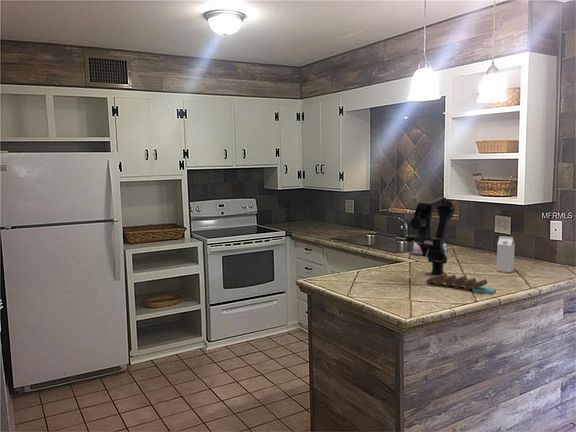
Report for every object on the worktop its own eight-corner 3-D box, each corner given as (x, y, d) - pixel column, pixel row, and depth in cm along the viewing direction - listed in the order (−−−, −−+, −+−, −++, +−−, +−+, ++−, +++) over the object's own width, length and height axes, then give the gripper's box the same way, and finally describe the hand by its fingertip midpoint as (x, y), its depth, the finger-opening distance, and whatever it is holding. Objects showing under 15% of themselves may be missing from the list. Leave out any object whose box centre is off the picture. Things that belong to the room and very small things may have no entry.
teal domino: (472, 288, 227) (492, 291, 222) (476, 286, 231) (495, 289, 225) (472, 292, 228) (492, 295, 222) (476, 290, 231) (495, 293, 226)
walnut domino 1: (426, 280, 242) (442, 274, 237) (430, 278, 246) (446, 272, 240) (427, 283, 242) (443, 278, 236) (431, 281, 246) (447, 276, 240)
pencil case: (448, 256, 304) (448, 241, 303) (443, 259, 298) (443, 244, 296) (417, 253, 317) (417, 238, 316) (411, 255, 310) (411, 240, 309)
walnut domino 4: (453, 284, 233) (471, 279, 227) (458, 282, 237) (475, 277, 231) (455, 288, 233) (472, 283, 227) (459, 286, 237) (476, 281, 231)
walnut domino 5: (464, 286, 230) (481, 281, 223) (469, 283, 233) (486, 279, 227) (466, 290, 230) (483, 285, 223) (470, 287, 233) (487, 283, 226)
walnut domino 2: (434, 281, 239) (451, 276, 234) (438, 279, 243) (454, 274, 238) (436, 285, 239) (452, 280, 233) (440, 283, 243) (456, 278, 237)
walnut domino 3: (445, 282, 236) (461, 277, 231) (449, 280, 240) (465, 275, 234) (446, 286, 236) (463, 281, 230) (450, 284, 240) (467, 279, 234)
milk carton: (500, 268, 270) (501, 235, 268) (513, 270, 265) (515, 236, 263) (496, 271, 264) (497, 236, 262) (510, 272, 260) (511, 238, 258)
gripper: (401, 227, 248) (401, 257, 250) (436, 230, 236) (435, 261, 238) (410, 224, 256) (410, 253, 258) (444, 227, 244) (444, 257, 246)
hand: (424, 256), depth 250 cm, fingers closed
